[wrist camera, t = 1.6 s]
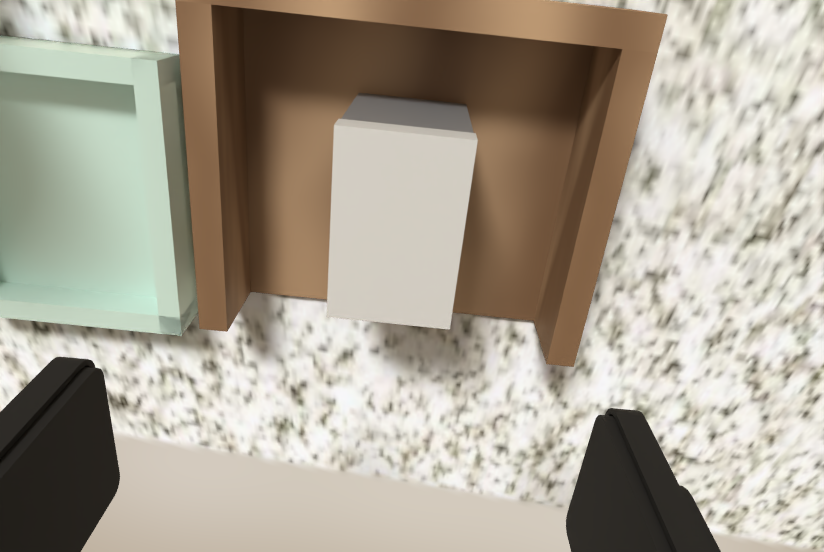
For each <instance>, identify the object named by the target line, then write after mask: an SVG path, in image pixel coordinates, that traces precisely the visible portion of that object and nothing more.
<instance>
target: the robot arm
mask: <svg viewBox="0 0 824 552" xmlns="http://www.w3.org/2000/svg"><path fill="white" fill-rule="evenodd" d="M119 480H120V473H119V467H118V460H117V455H116V448H115V443H114V436H113V429H112V423H111V417H110V411H109V405H108V399H107V392H106V386H105V380H104V375H103V371H102V370H101V369H99V368H95V365H94V363H93V362H92V361H91V360H89V359H78V358H67V357H57V358H55V359H53V360H52V361H51V362H50V363H49V364H48V365H47V366H46V367H45V368H44V369H43V370H42V371H41V372H40V373H39V374H38V375H37V376H36V377H35V378H34V379H33V380H32V381H31V382H30V383H29V384H28V385H27V386H26V387H25V388H24V389H23V390H22V391H21V392H20V393H19V394H18V395H17V396H16V397H15V398H14V399H13V400H12V401H11V402H10V403H9V404H8V405H7V406H6V407H5V408H4V409H3V410H2V411H1V412H0V552H81V550H82V548H83V547H84V545H85V543H86V542H87V540H88V538H89V537H90V535H91V534H92V532H93V530H94V529H95V527H96V525H97V524H98V522H99V520H100V519H101V517H102V516H103V514H104V512H105V511H106V509H107V507H108V506H109V504H110V502H111V501H112V499H113V497H114V496H115V494H116V492H117V489H118V485H119ZM566 530H567V536H568V540H569V544H570V548H571V552H721V551H720V549H719V547H718V545H717V543H716V542H715V540H714V538H713V536H712V534H711V532H710V530H709V528H708V526H707V524H706V522H705V520H704V518H703V516H702V515H701V513H700V511H699V509H698V507H697V505H696V503H695V501H694V499H693V497H692V496H691V494H690V493H689V491H688V490H687V489H686V488H684V487H683V486H679V484H678V482H677V480H676V478H675V476H674V474H673V472H672V470H671V468H670V466H669V464H668V462H667V460H666V458H665V456H664V454H663V452H662V450H661V448H660V446H659V444H658V442H657V440H656V438H655V436H654V434H653V432H652V430H651V429H650V427H649V425H648V423H647V421H646V419H645V417H644V415H643V414H642V412H640V411H635V410H624V409H614V408H610V409H608V410H607V412H606V414H605V415H598V416H597V418H596V420H595V423H594V426H593V430H592V433H591V436H590V440H589V443H588V446H587V450H586V453H585V456H584V460H583V463H582V466H581V470H580V473H579V476H578V480H577V483H576V486H575V490H574V493H573V496H572V500H571V503H570V506H569V510H568V513H567V519H566Z"/></svg>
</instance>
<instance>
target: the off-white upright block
mask: <svg viewBox="0 0 824 552" xmlns="http://www.w3.org/2000/svg"><path fill="white" fill-rule="evenodd" d="M477 142H478V139H477V136H476V133H474V132H473V128H472V124H471V120H470V117H469V113H468V109H467V105H466V104H461V103H452V102H443V101H433V100H424V99H414V98H405V97H396V96H386V95H377V94H368V93H358V95H357V96H356V98H355V99H354V100H353V102H352V103H351V105H350V106H349V108H348V109H347V111H346V112H345V114H344V115H343V117H342V118H341V119H338V120H337V122H336V123H335V124H334V139H333V164H332V190H331V216H330V242H329V268H328V294H327V317H332V318H342V319H352V320H362V321H371V322H381V323H391V324H401V325H410V326H420V327H430V328H440V329H450V324H451V318H452V311H453V304H454V297H455V291H456V284H457V277H458V270H459V264H460V257H461V250H462V243H463V237H464V230H465V223H466V216H467V210H468V203H469V196H470V189H471V183H472V176H473V169H474V163H475V156H476V149H477Z"/></svg>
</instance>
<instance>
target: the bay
mask: <svg viewBox="0 0 824 552" xmlns="http://www.w3.org/2000/svg"><path fill="white" fill-rule="evenodd" d="M175 1H176V15H177V29H178V42H179V56H180V69H181V83H182V97H183V110H184V124H185V137H186V151H187V165H188V178H189V192H190V205H191V219H192V233H193V246H194V260H195V273H196V287H197V301H198V314H199V328H200V329H207V330H217V331H228V329H229V328H230V326H231V324H232V323H233V321H234V319H235V317H236V316H237V314H238V312H239V311H240V309H241V307H242V306H243V304H244V302H245V301H246V299H247V297H248V296H249V294H250V292H259V293H269V294H278V295H288V296H298V297H308V298H317V299H327V294H328V268H329V242H330V216H331V190H332V164H333V139H334V124H335V123H336V122H337V120H338V119H341V118H342V117H343V115H344V114H345V112H346V111H347V109H348V108H349V106H350V105H351V103H352V102H353V100H354V99H355V98H356V96H357V95H358V93H368V94H377V95H386V96H396V97H405V98H414V99H424V100H433V101H443V102H452V103H461V104H466V105H467V109H468V113H469V117H470V120H471V124H472V128H473V132H474V133H476V136H477V139H478V142H477V149H476V156H475V163H474V169H473V176H472V183H471V189H470V196H469V203H468V210H467V216H466V223H465V230H464V237H463V243H462V250H461V257H460V264H459V270H458V277H457V284H456V291H455V297H454V304H453V311H452V312H454V313H464V314H474V315H483V316H493V317H503V318H513V319H522V320H532V321H534V323H535V327H536V330H537V333H538V337H539V340H540V344H541V347H542V350H543V354H544V357H545V361H546V364H552V365H561V366H571V367H574V363H575V360H576V356H577V352H578V348H579V345H580V341H581V337H582V333H583V330H584V326H585V322H586V319H587V315H588V311H589V307H590V304H591V300H592V296H593V292H594V289H595V285H596V281H597V277H598V274H599V270H600V266H601V262H602V259H603V255H604V251H605V247H606V244H607V240H608V236H609V232H610V229H611V225H612V221H613V217H614V214H615V210H616V206H617V202H618V199H619V195H620V191H621V187H622V184H623V180H624V176H625V173H626V169H627V165H628V161H629V158H630V154H631V150H632V146H633V143H634V139H635V135H636V131H637V128H638V124H639V120H640V116H641V113H642V109H643V105H644V101H645V98H646V94H647V90H648V86H649V83H650V79H651V75H652V71H653V68H654V64H655V60H656V56H657V53H658V49H659V45H660V41H661V38H662V34H663V30H664V27H665V23H666V19H667V14H660V13H653V12H646V11H639V10H632V9H623V8H614V7H605V6H595V5H586V4H577V3H568V2H559V1H550V0H175Z"/></svg>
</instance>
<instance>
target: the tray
mask: <svg viewBox="0 0 824 552" xmlns="http://www.w3.org/2000/svg"><path fill="white" fill-rule="evenodd" d="M197 314H198V303H197V290H196V276H195V263H194V249H193V236H192V222H191V209H190V195H189V181H188V168H187V154H186V141H185V127H184V114H183V100H182V87H181V73H180V59H179V54H170V53H160V52H151V51H142V50H132V49H123V48H114V47H105V46H95V45H86V44H77V43H67V42H58V41H49V40H39V39H30V38H21V37H11V36H2V35H0V318H10V319H20V320H30V321H40V322H49V323H59V324H69V325H79V326H89V327H99V328H109V329H119V330H128V331H138V332H148V333H158V334H168V335H178V336H182V335H183V333H184V332H185V330H186V329H187V328H188V326H189V325H190V323H191V322H192V321H193V319H194V318H195V316H196V315H197Z"/></svg>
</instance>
